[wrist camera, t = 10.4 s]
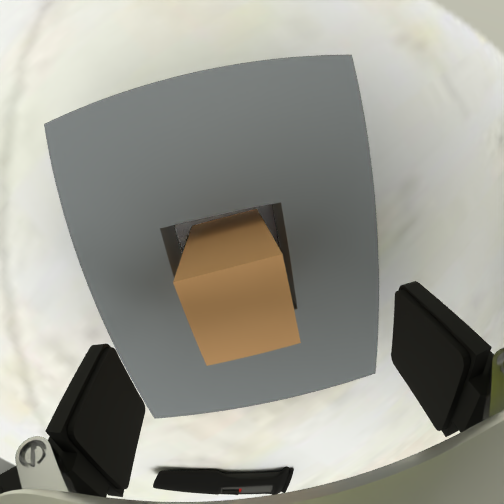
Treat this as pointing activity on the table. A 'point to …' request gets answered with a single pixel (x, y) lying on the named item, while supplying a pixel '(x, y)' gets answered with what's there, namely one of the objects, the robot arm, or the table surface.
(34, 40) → the table surface
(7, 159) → the table surface
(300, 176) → the socket board
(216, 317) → the peg
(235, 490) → the electric trimmer
